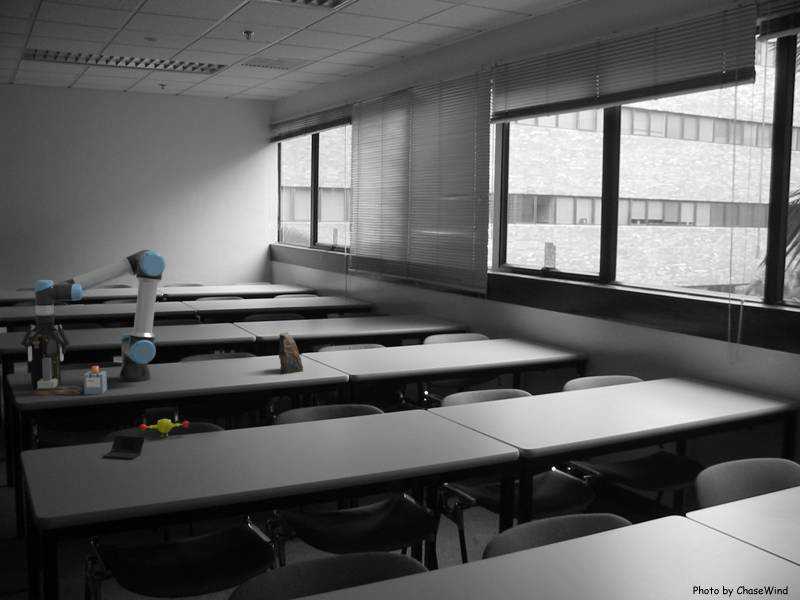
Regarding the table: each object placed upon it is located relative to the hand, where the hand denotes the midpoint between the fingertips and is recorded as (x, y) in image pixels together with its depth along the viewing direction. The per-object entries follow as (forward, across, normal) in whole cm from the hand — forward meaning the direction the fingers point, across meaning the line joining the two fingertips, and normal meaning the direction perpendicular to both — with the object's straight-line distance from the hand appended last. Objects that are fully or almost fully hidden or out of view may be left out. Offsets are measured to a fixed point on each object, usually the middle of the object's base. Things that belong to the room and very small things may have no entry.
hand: (46, 360), depth 355 cm
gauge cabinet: (+15, +22, 0) cm, 26 cm away
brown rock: (+14, +110, +41) cm, 119 cm away
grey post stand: (+12, 0, 0) cm, 12 cm away
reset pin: (+8, +21, 0) cm, 23 cm away
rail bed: (+15, +5, 0) cm, 16 cm away
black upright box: (+15, -4, +15) cm, 22 cm away
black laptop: (+15, +54, -97) cm, 112 cm away
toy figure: (+15, +64, -76) cm, 101 cm away
